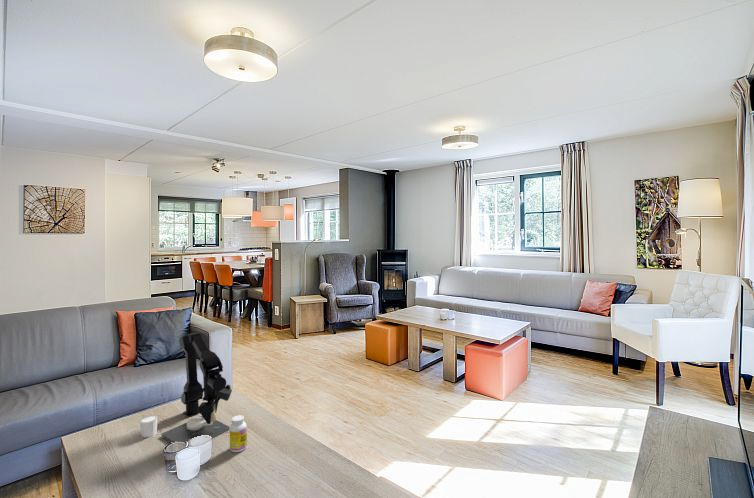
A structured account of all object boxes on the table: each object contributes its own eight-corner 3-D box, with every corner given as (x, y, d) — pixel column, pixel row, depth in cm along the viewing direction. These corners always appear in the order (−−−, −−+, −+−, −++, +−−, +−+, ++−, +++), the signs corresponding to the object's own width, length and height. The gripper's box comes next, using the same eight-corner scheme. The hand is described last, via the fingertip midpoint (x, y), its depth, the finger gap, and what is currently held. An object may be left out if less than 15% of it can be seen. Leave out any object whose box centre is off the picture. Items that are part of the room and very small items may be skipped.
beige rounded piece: (184, 430, 158) (183, 413, 158) (190, 422, 165) (189, 405, 165) (213, 428, 160) (212, 410, 160) (218, 420, 167) (217, 403, 167)
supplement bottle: (241, 454, 147) (240, 423, 146) (226, 452, 148) (225, 421, 147) (250, 444, 153) (249, 414, 153) (236, 442, 155) (235, 413, 154)
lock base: (161, 436, 160) (161, 429, 160) (205, 417, 176) (205, 410, 176) (184, 452, 149) (184, 444, 148) (229, 429, 165) (229, 423, 165)
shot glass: (161, 430, 166) (161, 415, 165) (151, 438, 159) (150, 423, 158) (147, 429, 166) (147, 414, 166) (136, 438, 159) (135, 422, 159)
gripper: (224, 391, 155) (226, 427, 155) (234, 374, 173) (235, 406, 174) (196, 394, 153) (198, 430, 154) (209, 376, 171) (210, 409, 172)
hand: (212, 418), depth 163 cm, fingers open, 9 cm apart
